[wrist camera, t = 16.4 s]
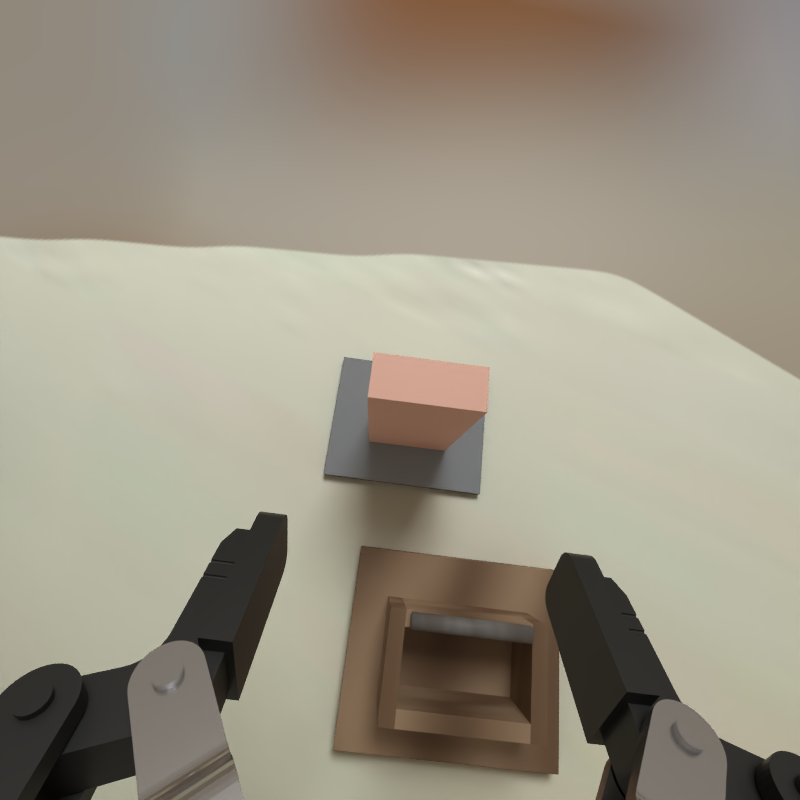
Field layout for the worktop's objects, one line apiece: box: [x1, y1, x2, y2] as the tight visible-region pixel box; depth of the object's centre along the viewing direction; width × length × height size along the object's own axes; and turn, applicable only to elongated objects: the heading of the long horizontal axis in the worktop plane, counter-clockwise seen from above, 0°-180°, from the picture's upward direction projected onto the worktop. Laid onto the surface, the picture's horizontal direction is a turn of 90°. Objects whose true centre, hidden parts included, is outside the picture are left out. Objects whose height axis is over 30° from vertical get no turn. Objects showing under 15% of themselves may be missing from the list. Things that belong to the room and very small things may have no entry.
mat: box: [324, 357, 485, 494], centre depth 27 cm, size 10×8×1 cm
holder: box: [333, 546, 559, 774], centre depth 21 cm, size 12×10×5 cm
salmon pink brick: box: [368, 352, 490, 451], centre depth 22 cm, size 5×2×10 cm, turn 84°
